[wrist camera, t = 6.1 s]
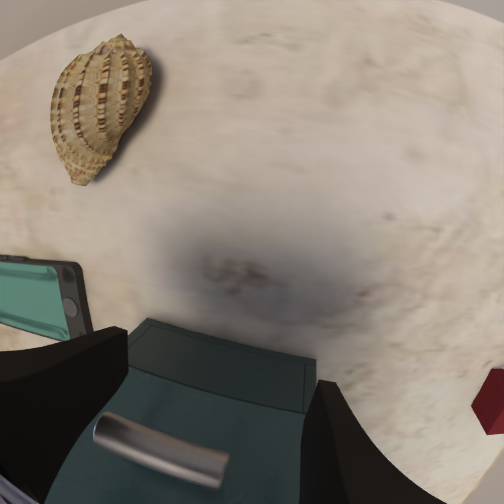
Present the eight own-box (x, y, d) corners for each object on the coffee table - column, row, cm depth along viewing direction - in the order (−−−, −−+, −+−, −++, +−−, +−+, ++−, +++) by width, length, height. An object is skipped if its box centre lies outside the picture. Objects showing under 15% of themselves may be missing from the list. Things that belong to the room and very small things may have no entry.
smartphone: (88, 349, 23) (-8, 321, 25) (96, 342, 24) (0, 317, 27) (71, 263, 21) (-22, 256, 24) (81, 259, 23) (-14, 253, 25)
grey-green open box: (275, 470, 25) (266, 518, 19) (148, 435, 26) (122, 475, 20) (316, 359, 21) (316, 414, 15) (147, 317, 23) (105, 355, 17)
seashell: (168, 163, 22) (165, 28, 16) (126, 204, 18) (111, 34, 11) (88, 156, 23) (77, 41, 17) (42, 191, 19) (18, 56, 12)
